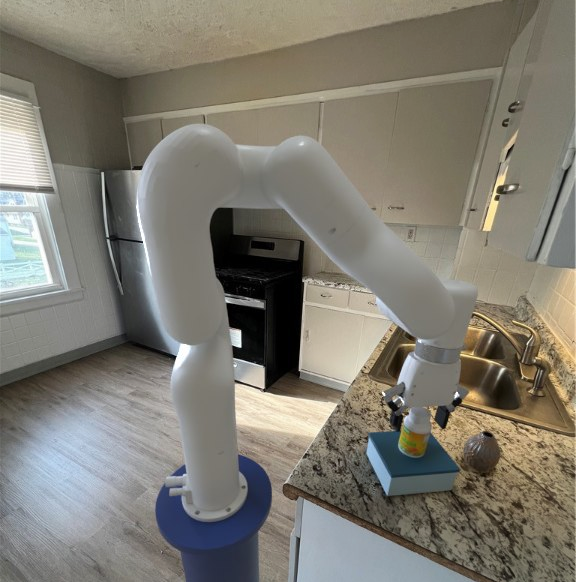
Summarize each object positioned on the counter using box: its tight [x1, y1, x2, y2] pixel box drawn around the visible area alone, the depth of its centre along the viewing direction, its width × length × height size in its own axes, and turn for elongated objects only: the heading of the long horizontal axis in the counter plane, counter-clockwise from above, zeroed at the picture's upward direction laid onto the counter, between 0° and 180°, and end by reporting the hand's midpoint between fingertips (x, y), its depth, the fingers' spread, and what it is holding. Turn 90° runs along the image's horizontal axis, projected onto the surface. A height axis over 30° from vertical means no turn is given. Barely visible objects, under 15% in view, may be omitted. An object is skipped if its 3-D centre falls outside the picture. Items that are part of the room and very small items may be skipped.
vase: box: [462, 430, 501, 472], centre depth 69 cm, size 7×7×9 cm
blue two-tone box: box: [366, 430, 462, 497], centre depth 68 cm, size 14×12×6 cm
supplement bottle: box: [398, 407, 433, 458], centre depth 64 cm, size 5×5×10 cm
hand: (417, 426), depth 64 cm, fingers open, 9 cm apart
